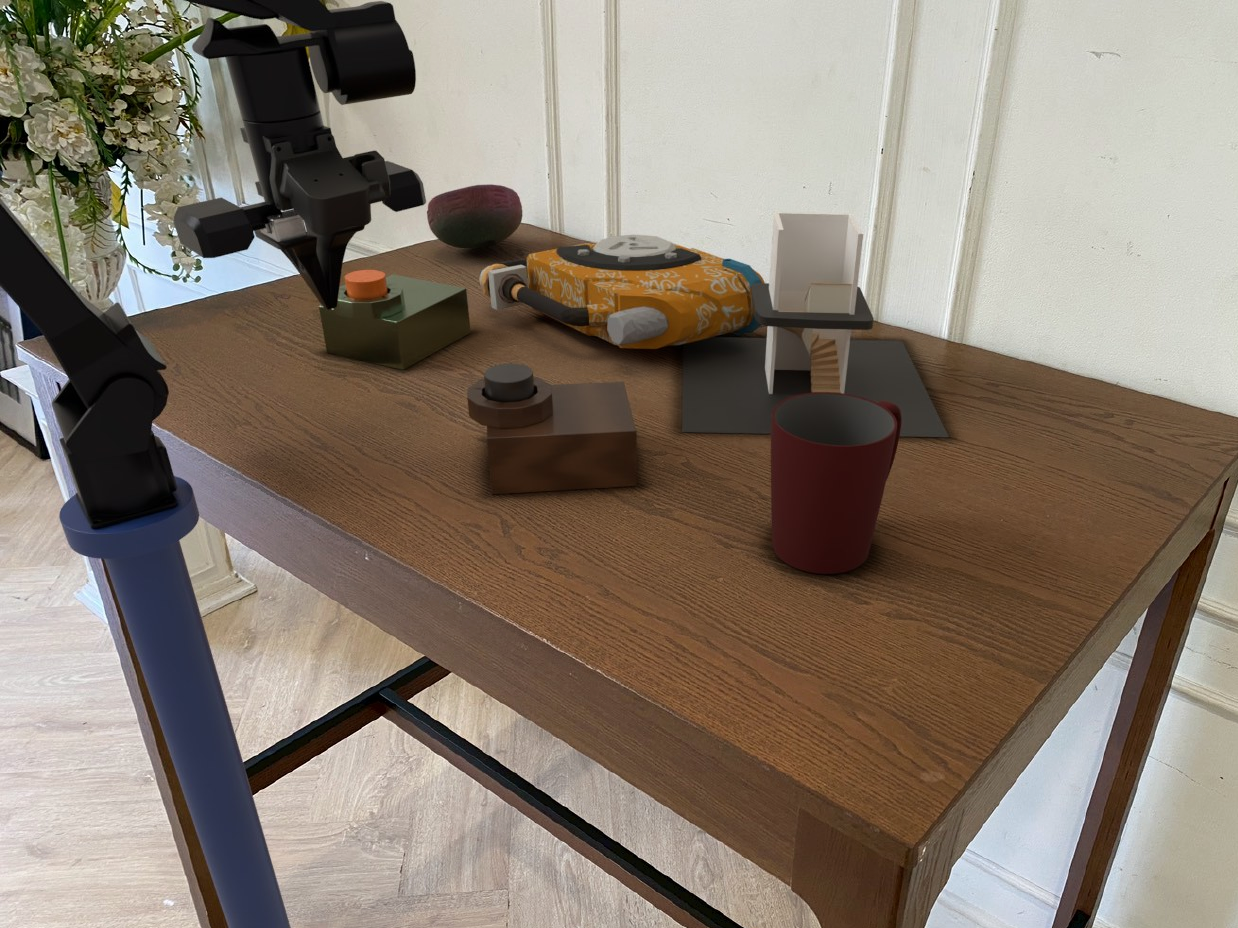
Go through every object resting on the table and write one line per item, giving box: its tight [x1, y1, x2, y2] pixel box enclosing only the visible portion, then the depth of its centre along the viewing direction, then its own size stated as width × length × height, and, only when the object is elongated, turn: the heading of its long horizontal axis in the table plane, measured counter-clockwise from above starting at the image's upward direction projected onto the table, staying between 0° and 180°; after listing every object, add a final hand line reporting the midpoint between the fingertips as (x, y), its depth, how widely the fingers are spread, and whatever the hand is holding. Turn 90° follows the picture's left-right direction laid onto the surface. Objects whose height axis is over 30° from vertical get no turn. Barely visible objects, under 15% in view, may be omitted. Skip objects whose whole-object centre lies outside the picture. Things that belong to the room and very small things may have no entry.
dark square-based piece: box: [681, 211, 950, 438], centre depth 100 cm, size 25×24×16 cm
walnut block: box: [466, 375, 638, 495], centre depth 86 cm, size 14×10×7 cm
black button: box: [483, 362, 534, 403], centre depth 84 cm, size 4×4×2 cm
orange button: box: [344, 269, 388, 299], centre depth 104 cm, size 4×4×2 cm
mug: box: [770, 392, 902, 575], centre depth 76 cm, size 12×9×11 cm
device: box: [478, 234, 766, 350], centre depth 114 cm, size 23×8×30 cm
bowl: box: [426, 183, 523, 249], centre depth 137 cm, size 16×13×8 cm
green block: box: [318, 274, 472, 371], centre depth 108 cm, size 13×10×7 cm
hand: (330, 307), depth 86 cm, fingers closed
